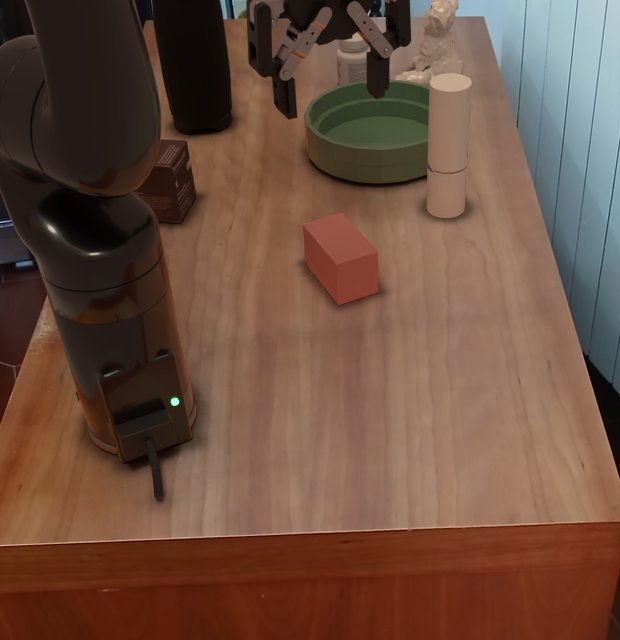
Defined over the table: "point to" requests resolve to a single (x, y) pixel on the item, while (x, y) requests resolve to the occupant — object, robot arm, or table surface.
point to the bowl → (370, 132)
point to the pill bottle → (352, 60)
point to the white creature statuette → (436, 45)
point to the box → (170, 182)
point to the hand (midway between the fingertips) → (333, 105)
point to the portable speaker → (194, 62)
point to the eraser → (341, 258)
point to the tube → (448, 144)
